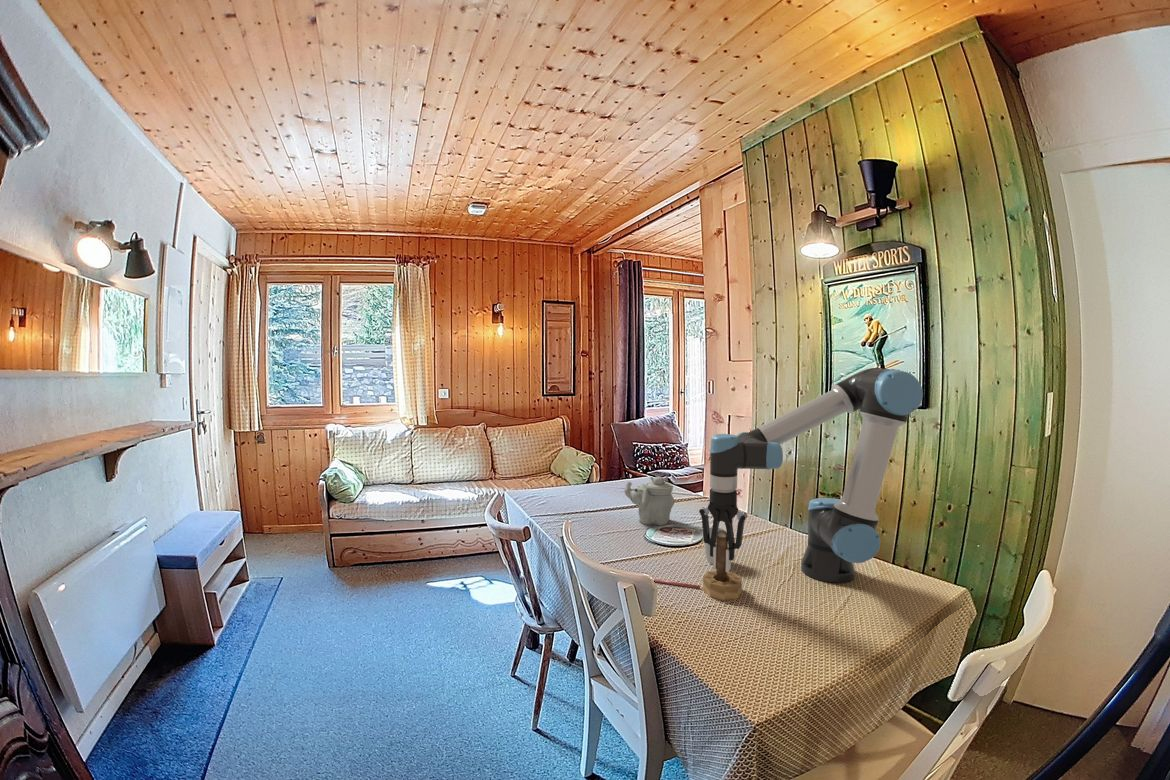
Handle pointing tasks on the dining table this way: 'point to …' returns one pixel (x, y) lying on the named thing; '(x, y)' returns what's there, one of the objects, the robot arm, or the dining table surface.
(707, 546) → the cup
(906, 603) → the dining table surface
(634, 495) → the teapot
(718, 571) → the brown rod
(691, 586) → the thin red rod
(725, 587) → the wooden ring block
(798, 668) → the dining table surface
